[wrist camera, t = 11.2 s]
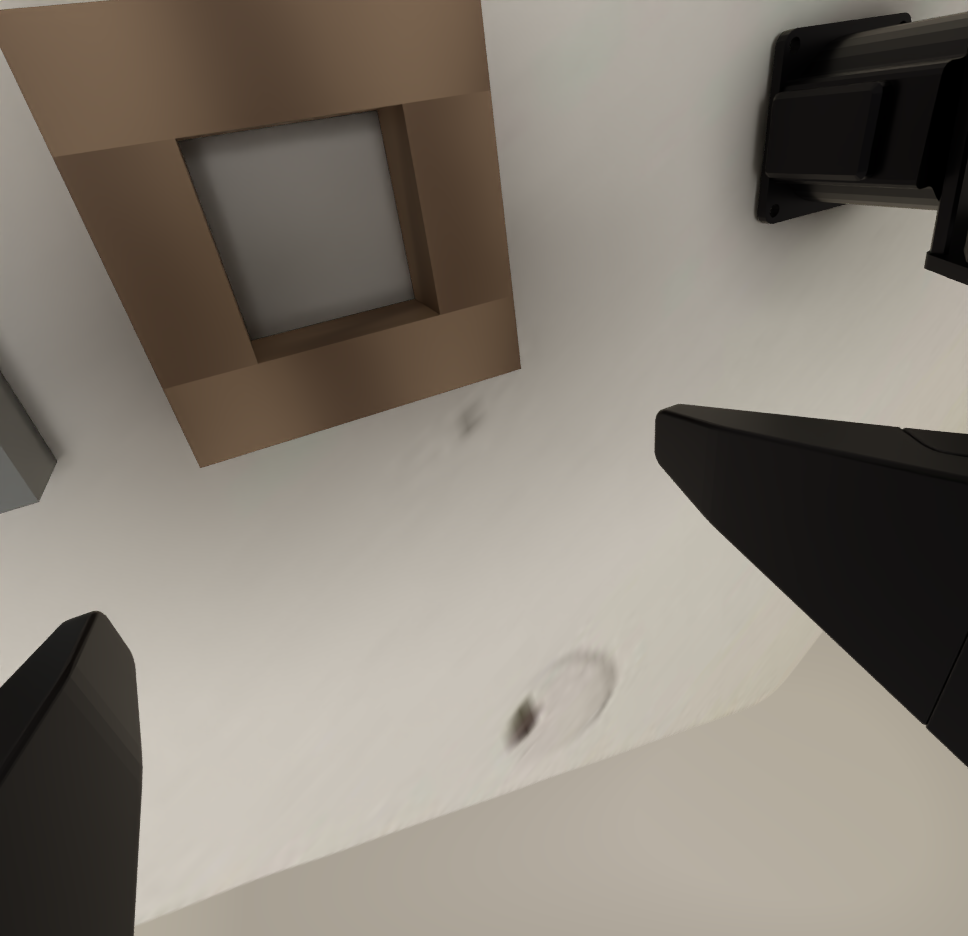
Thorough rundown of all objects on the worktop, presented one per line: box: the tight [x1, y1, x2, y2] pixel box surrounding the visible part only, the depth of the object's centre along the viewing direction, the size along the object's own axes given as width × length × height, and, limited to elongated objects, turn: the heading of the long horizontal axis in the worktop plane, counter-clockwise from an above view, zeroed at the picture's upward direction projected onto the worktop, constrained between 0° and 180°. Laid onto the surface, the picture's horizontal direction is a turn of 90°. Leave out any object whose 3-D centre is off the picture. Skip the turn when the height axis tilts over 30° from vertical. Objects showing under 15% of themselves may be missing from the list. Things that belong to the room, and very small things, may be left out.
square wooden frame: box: [0, 0, 521, 468], centre depth 16 cm, size 10×10×2 cm
